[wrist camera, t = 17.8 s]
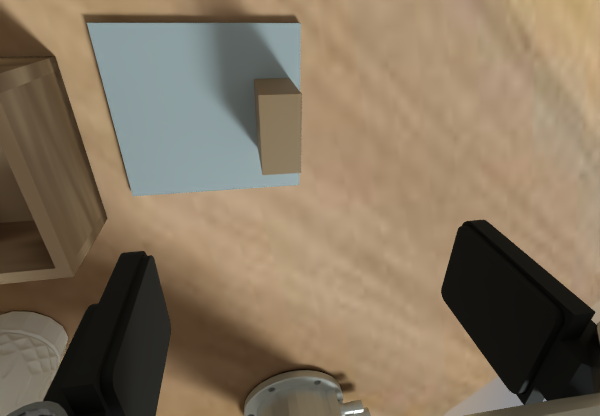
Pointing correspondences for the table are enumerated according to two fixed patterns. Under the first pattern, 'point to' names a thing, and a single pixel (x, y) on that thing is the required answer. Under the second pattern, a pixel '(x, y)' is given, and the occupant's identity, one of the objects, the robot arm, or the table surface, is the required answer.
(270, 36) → the lid
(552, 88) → the table surface
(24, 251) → the toolbox
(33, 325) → the white cup
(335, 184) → the table surface
